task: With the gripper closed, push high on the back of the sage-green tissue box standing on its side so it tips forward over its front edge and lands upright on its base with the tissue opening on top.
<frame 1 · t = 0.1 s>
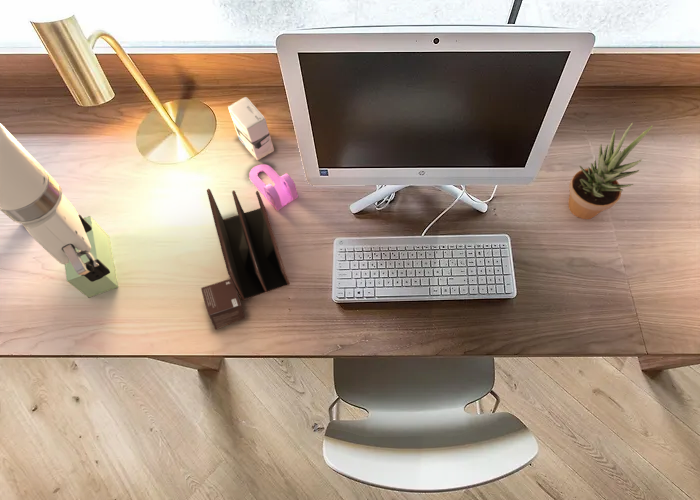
hand: (91, 253, 82), 19 cm above the table, tool pointing down, fingers open, 9 cm apart
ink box: (257, 148, 116), on the table
box: (227, 312, 96), on the table, touching letter holder
pill bottle: (41, 222, 108), on the table
bracket: (272, 188, 110), on the table
letter holder: (255, 254, 103), on the table, touching box
potted plant: (581, 207, 105), on the table
tissue box: (101, 268, 102), on the table
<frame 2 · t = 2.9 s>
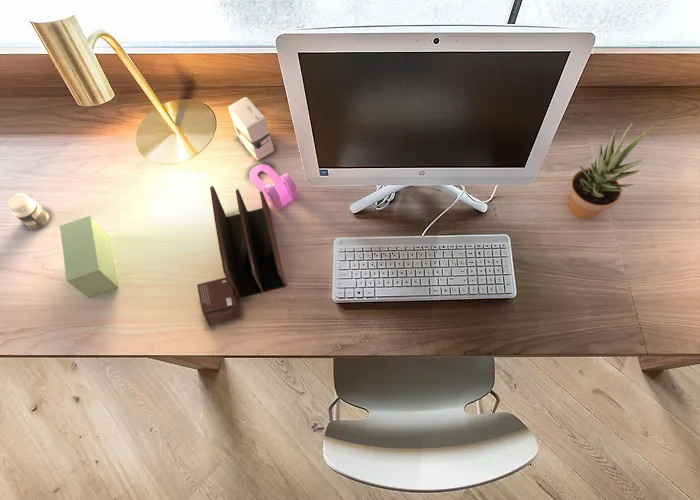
box: (222, 310, 96), on the table, touching letter holder
everything else where it was.
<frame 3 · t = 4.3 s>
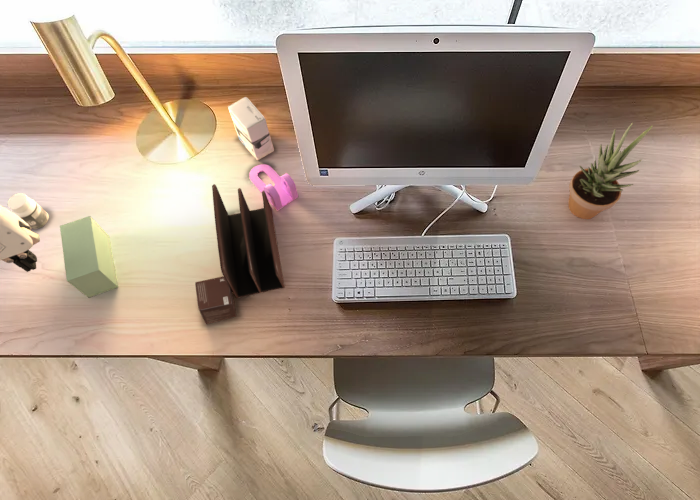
hand: (31, 263, 93), 9 cm above the table, tool pointing down, fingers closed
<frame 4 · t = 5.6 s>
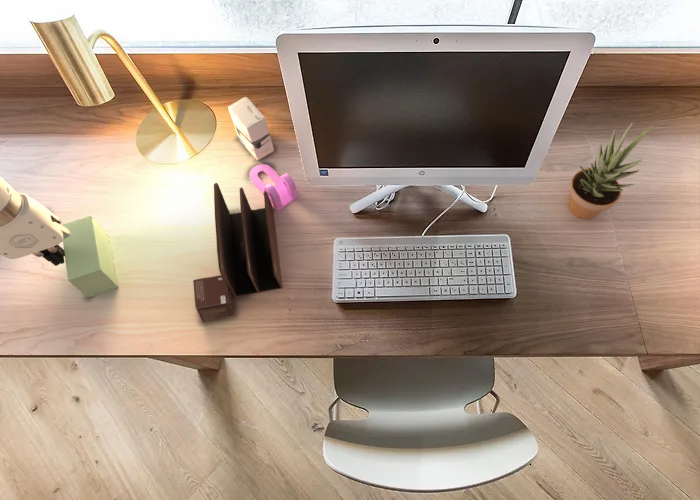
hand: (59, 258, 95), 8 cm above the table, tool pointing down, fingers closed
box: (217, 307, 97), on the table, touching letter holder
tissue box: (101, 268, 102), on the table, touching gripper
everything else where it was.
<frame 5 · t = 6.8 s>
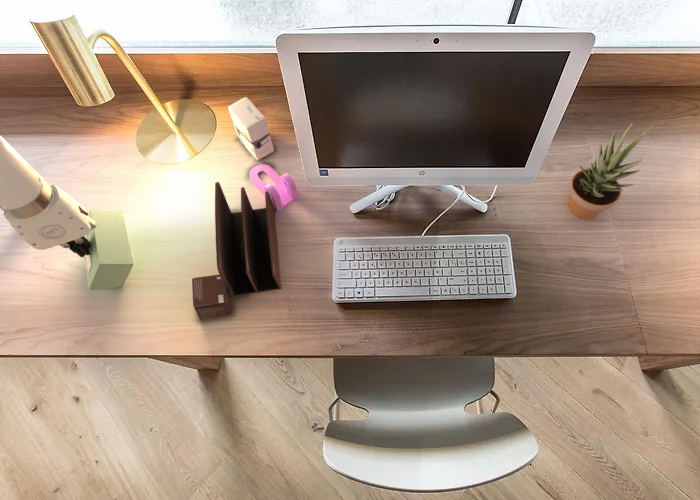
hand: (84, 249, 96), 8 cm above the table, tool pointing down, fingers closed
box: (215, 305, 97), on the table, touching letter holder
tissue box: (100, 262, 101), point 2 cm above the table, tilted 39°, touching gripper
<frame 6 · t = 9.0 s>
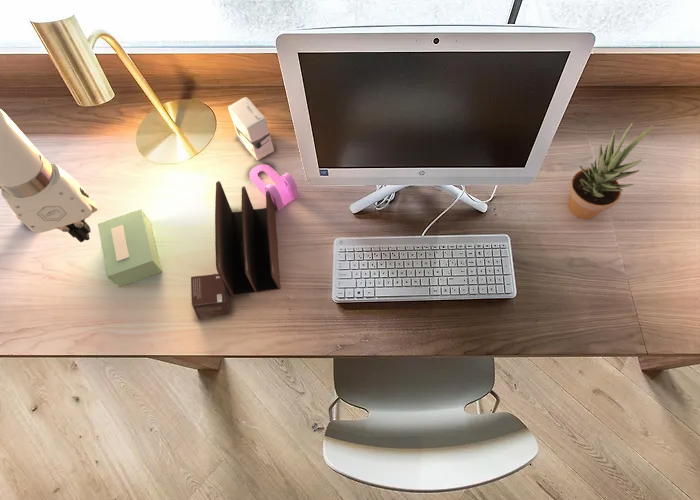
hand: (84, 234, 92), 12 cm above the table, tool pointing down, fingers closed
box: (213, 304, 97), on the table, touching letter holder
tissue box: (109, 256, 100), point 3 cm above the table, tilted 90°
everything else where it was.
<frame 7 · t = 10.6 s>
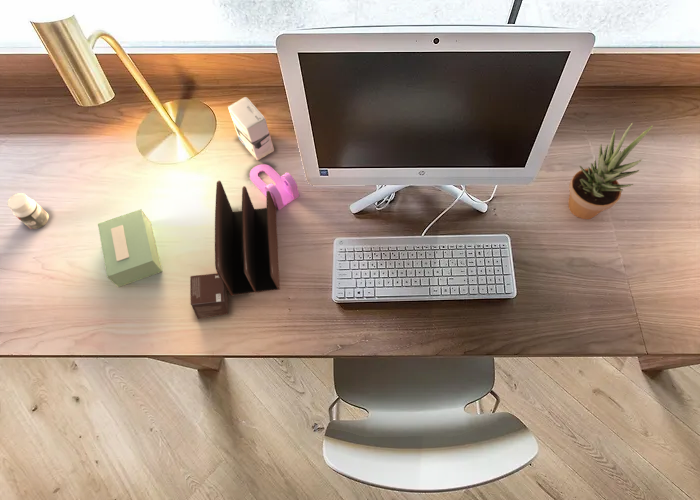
box: (213, 304, 97), on the table, touching letter holder
bracket: (272, 188, 110), on the table, touching letter holder
letter holder: (255, 252, 103), on the table, touching box, bracket
everything else where it was.
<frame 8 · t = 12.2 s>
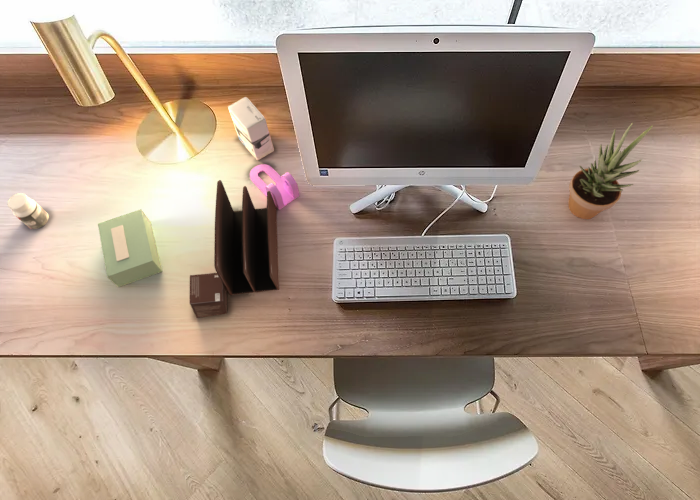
bracket: (272, 188, 110), on the table
letter holder: (255, 251, 103), on the table, touching box
everything else where it was.
at the end: tissue box tilted 90°; tissue box inside the target area (0.3 cm from its centre), point 3.0 cm above the table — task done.
